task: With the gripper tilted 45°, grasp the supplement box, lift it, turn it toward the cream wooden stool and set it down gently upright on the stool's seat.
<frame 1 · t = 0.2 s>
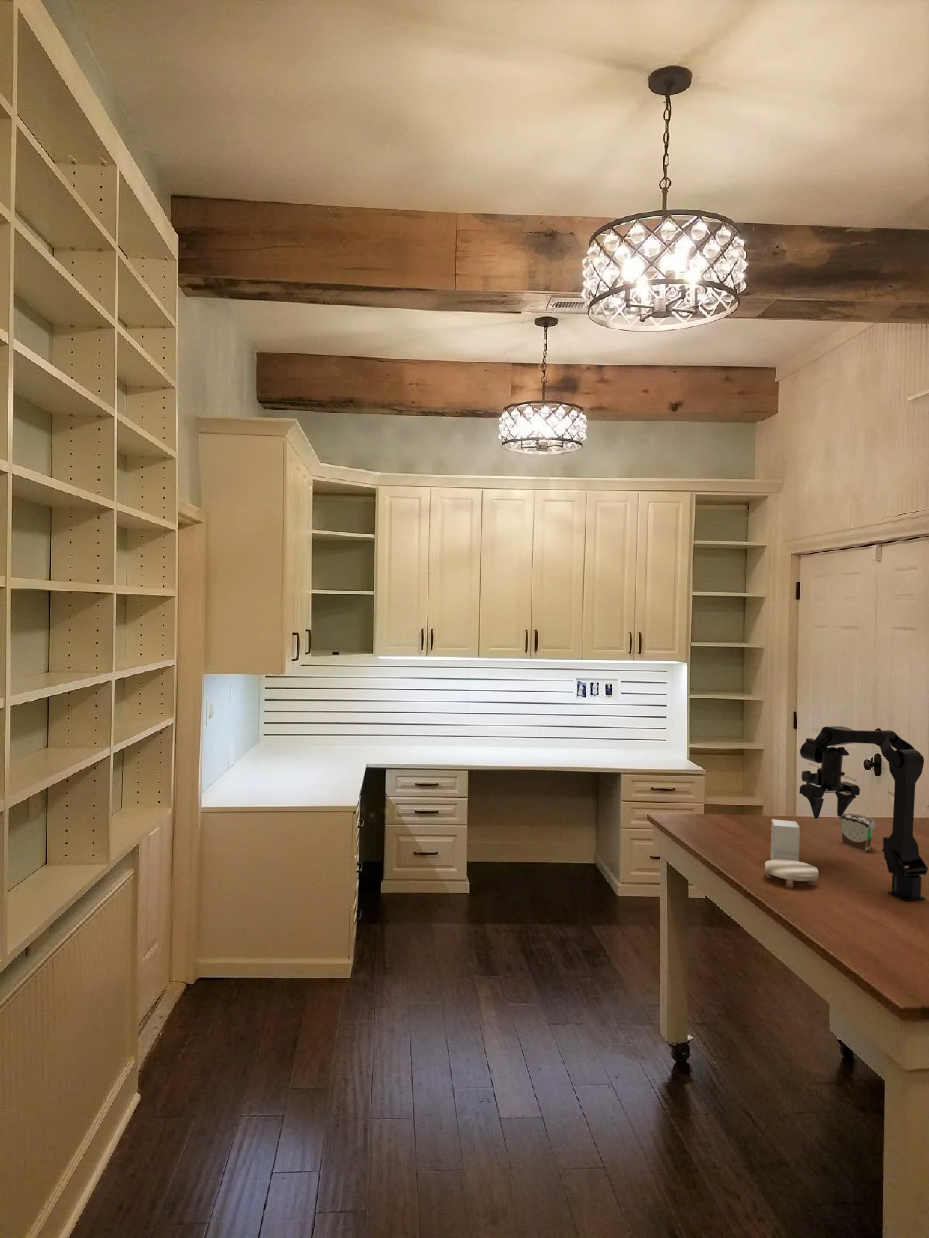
hand: (827, 817, 241), 14 cm above the table, tool pointing down, fingers open, 9 cm apart
stool: (790, 880, 224), on the table
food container: (860, 847, 259), on the table
supplement box: (784, 864, 239), on the table
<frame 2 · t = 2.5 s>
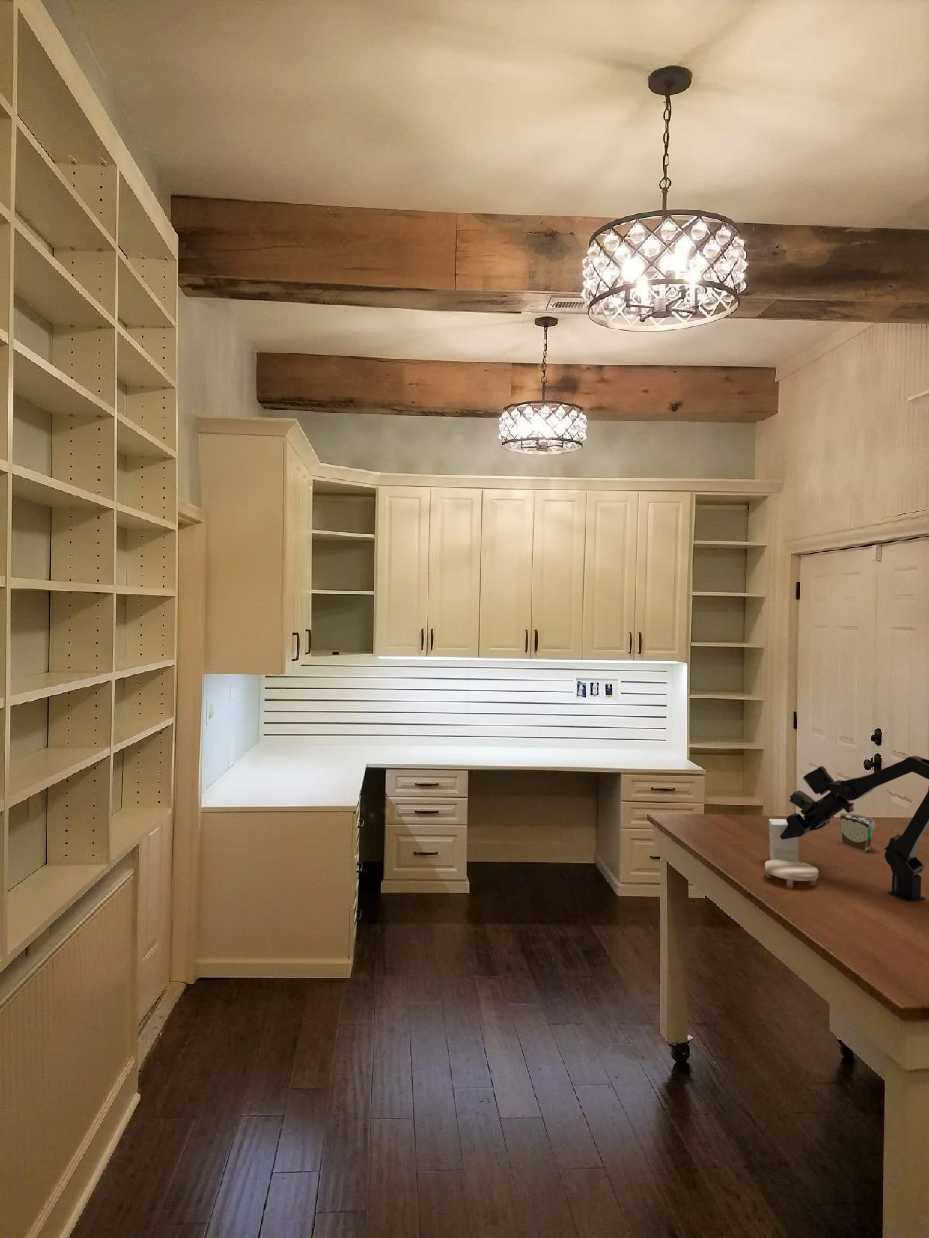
hand: (787, 835, 239), 9 cm above the table, tool tilted 45°, fingers open, 9 cm apart
nothing on the table moved.
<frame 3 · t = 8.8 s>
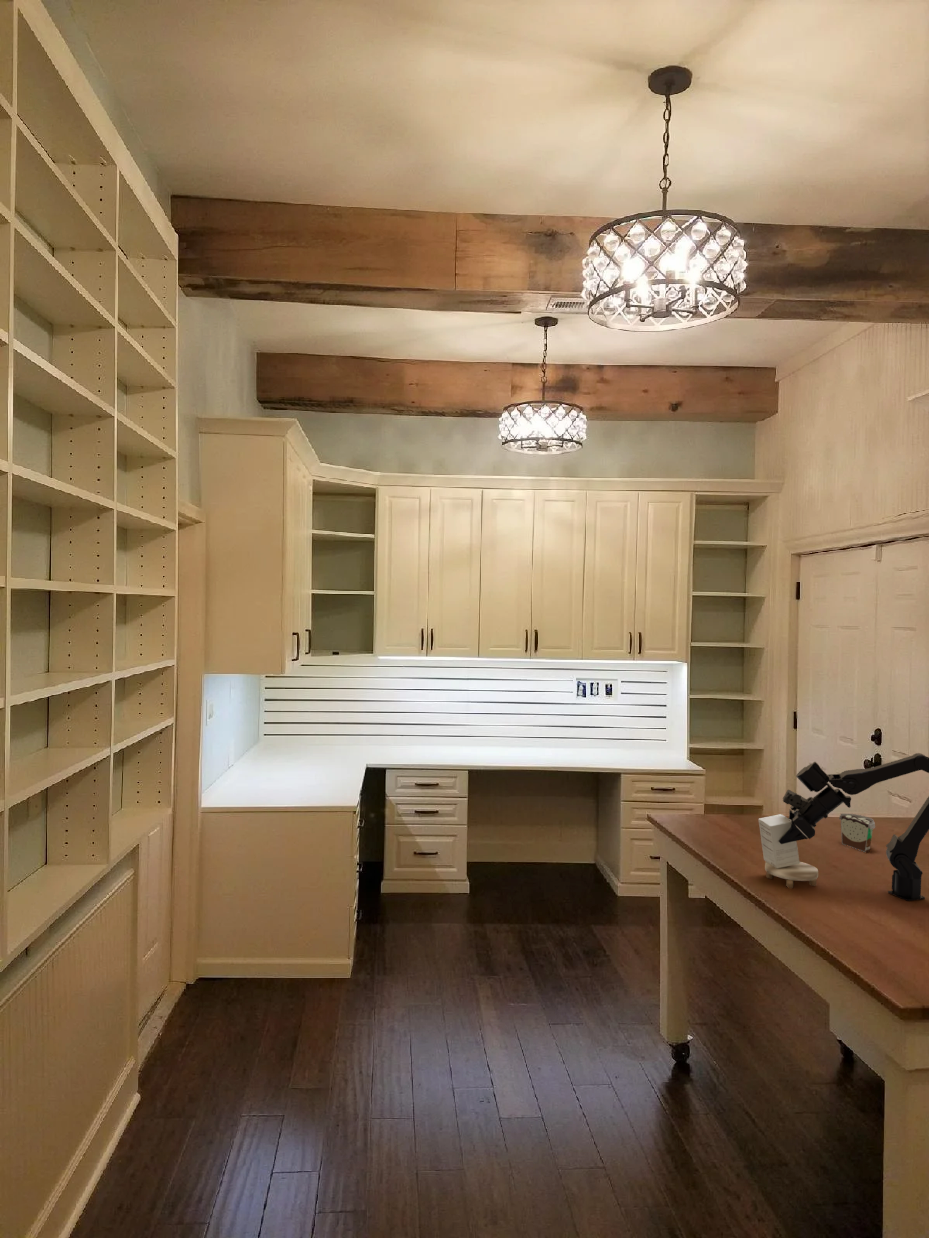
hand: (779, 838, 226), 12 cm above the table, tool tilted 45°, fingers open, 9 cm apart
supplement box: (781, 862, 226), point 5 cm above the table, touching gripper, stool
everything else where it was.
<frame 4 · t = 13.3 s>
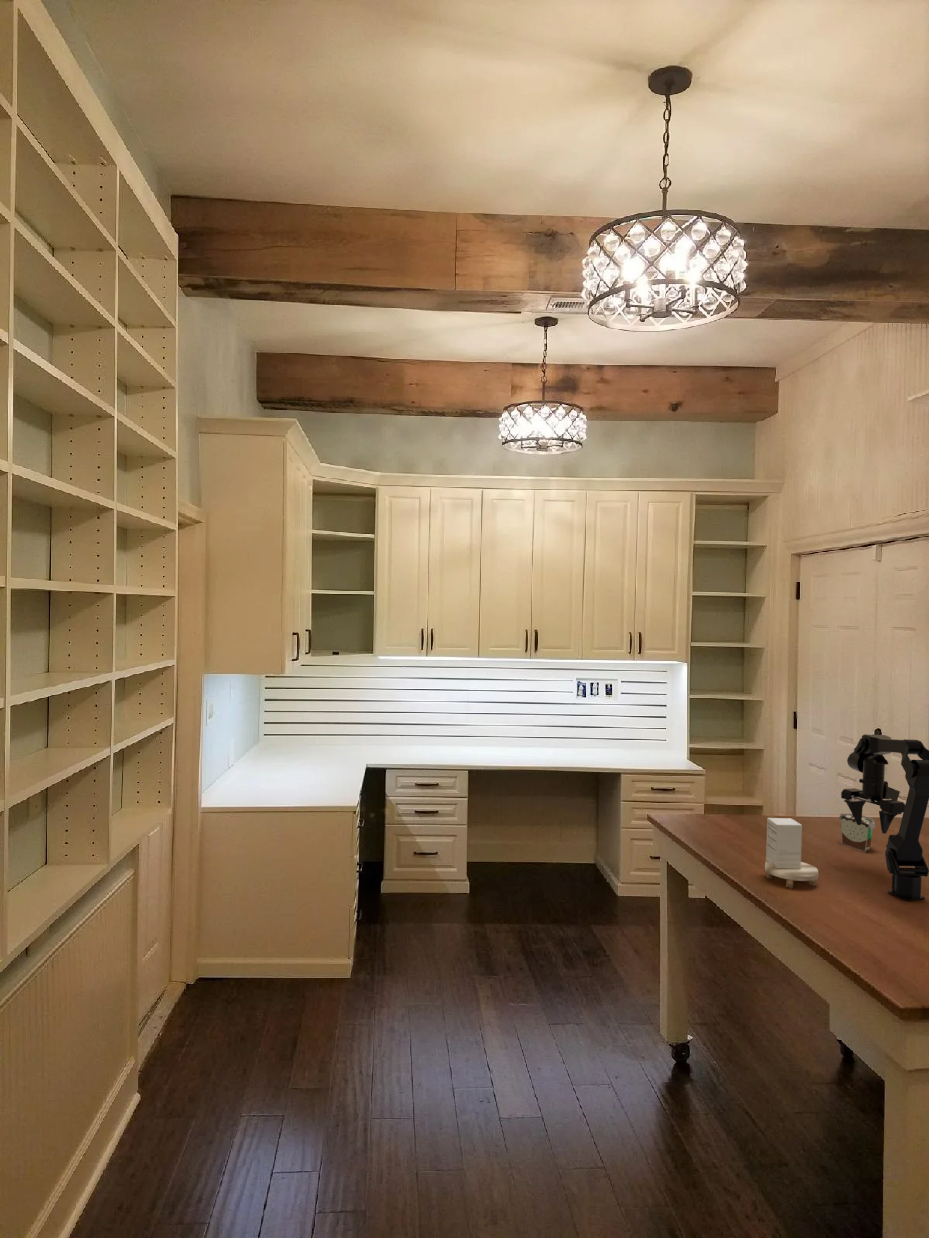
hand: (871, 829, 233), 13 cm above the table, tool pointing down, fingers open, 9 cm apart
supplement box: (782, 865, 226), point 4 cm above the table, touching stool
everything else where it was.
at the end: supplement box inside the target area on the stool (2.5 cm from its centre), point 3.8 cm above the stool's base; supplement box tilted 0°; the gripper is holding nothing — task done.
